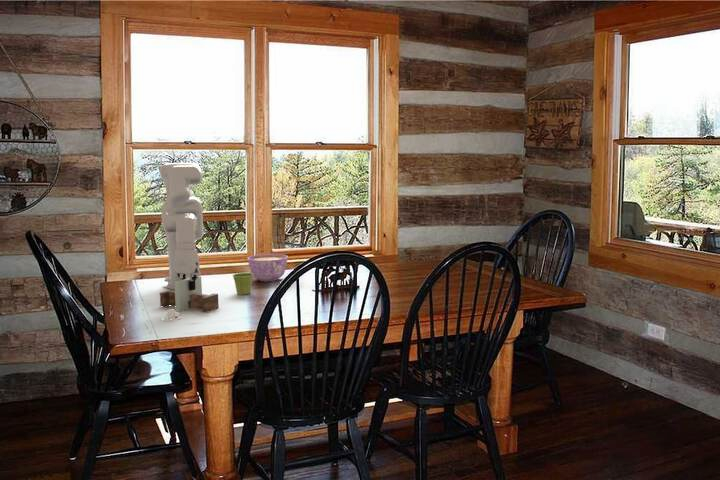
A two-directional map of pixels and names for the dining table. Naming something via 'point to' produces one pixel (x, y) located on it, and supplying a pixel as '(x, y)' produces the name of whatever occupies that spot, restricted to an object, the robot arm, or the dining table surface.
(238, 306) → the dining table surface
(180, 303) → the sage slot plate
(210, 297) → the walnut slot rail
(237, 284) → the plant pot
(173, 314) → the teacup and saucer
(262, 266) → the bowl of food
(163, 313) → the dining table surface
